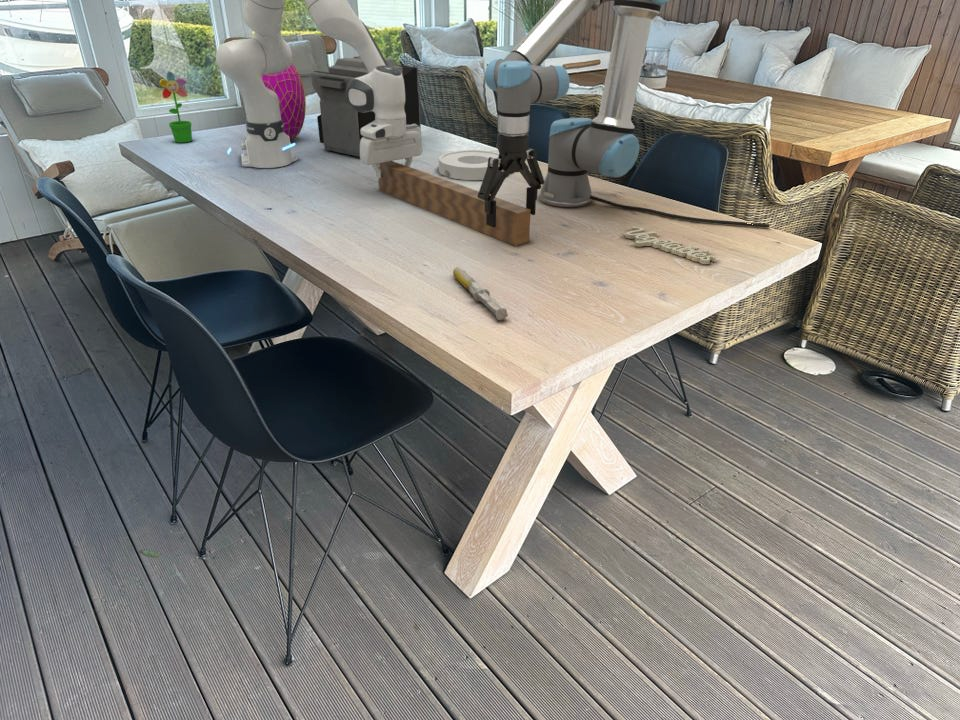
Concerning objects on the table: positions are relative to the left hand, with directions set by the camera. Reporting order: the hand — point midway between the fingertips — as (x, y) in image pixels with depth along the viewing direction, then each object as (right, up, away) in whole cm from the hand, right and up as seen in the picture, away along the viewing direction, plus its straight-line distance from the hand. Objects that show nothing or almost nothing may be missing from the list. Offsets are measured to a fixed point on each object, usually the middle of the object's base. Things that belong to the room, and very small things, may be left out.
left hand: (393, 174), depth 205 cm
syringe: (+26, -42, -60) cm, 78 cm away
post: (+17, -15, -14) cm, 26 cm away
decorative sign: (+72, -28, -35) cm, 85 cm away
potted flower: (-87, +28, +56) cm, 107 cm away
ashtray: (+24, +8, +25) cm, 35 cm away
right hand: (+34, -20, -33) cm, 51 cm away
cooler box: (-15, +25, +53) cm, 60 cm away
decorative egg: (-49, +29, +59) cm, 83 cm away
